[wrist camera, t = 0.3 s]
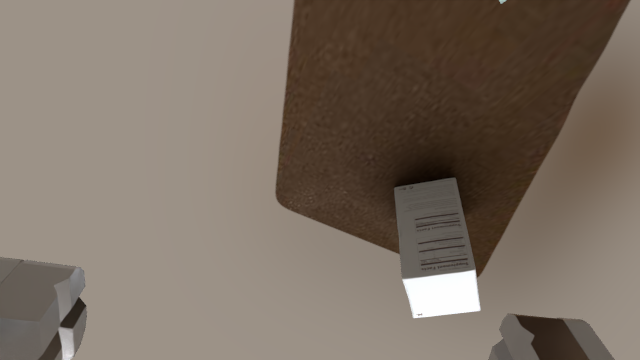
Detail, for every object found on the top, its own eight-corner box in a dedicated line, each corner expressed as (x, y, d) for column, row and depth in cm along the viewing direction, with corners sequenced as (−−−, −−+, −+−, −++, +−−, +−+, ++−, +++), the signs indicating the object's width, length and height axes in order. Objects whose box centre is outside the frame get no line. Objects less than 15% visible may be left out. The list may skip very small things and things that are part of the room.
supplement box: (462, 218, 82) (482, 313, 70) (403, 227, 84) (412, 321, 72) (456, 175, 76) (477, 270, 64) (392, 186, 78) (401, 280, 66)
